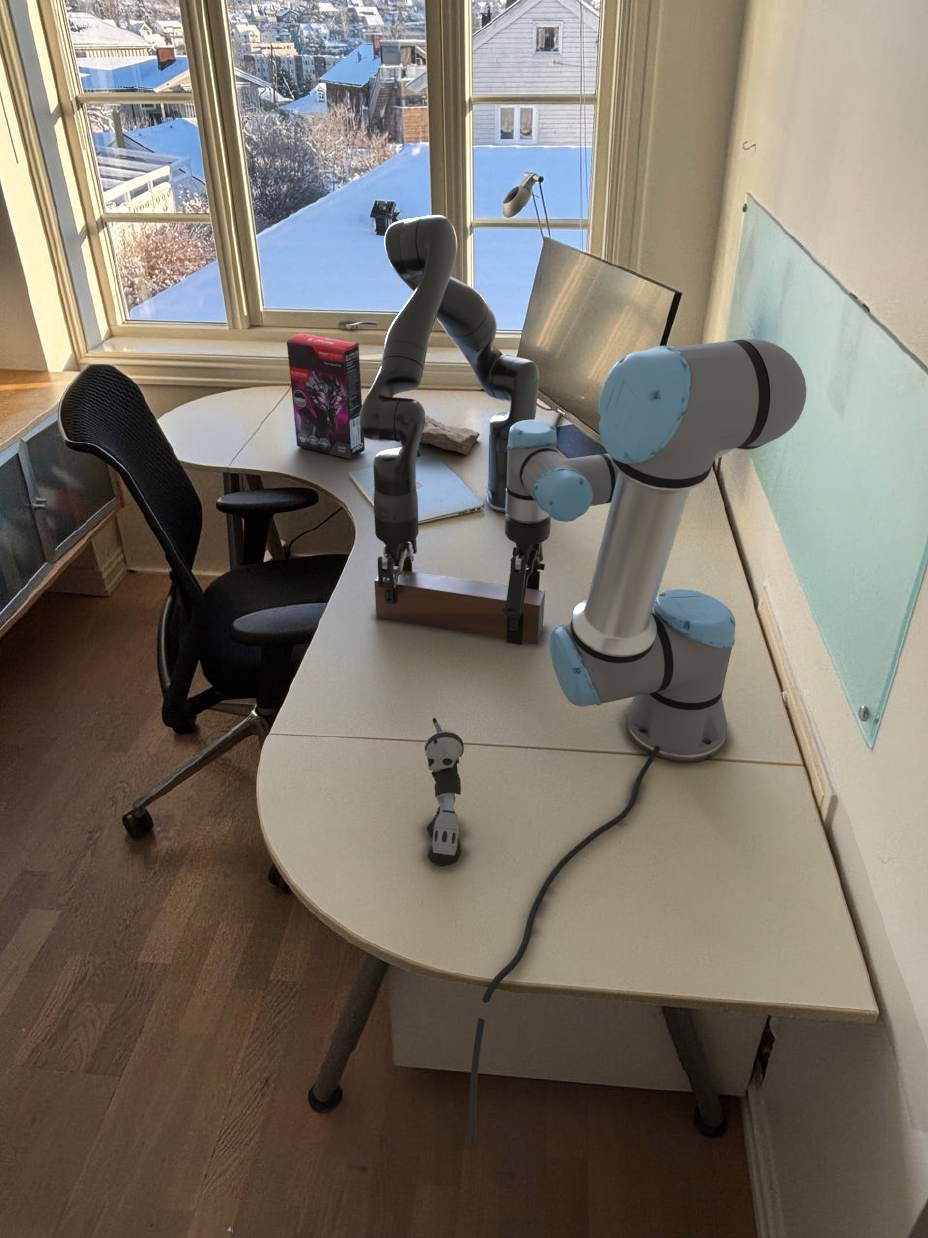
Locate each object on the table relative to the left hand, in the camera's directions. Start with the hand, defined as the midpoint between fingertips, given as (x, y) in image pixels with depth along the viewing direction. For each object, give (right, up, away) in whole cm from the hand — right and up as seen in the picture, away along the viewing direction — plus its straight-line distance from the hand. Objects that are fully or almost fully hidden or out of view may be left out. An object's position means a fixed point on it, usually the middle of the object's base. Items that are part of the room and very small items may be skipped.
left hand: (399, 591), depth 167 cm
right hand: (+22, -6, -4) cm, 23 cm away
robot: (+9, -35, -43) cm, 56 cm away
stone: (+4, +40, +68) cm, 79 cm away
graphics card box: (-22, +37, +64) cm, 78 cm away
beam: (+11, -6, +1) cm, 12 cm away
